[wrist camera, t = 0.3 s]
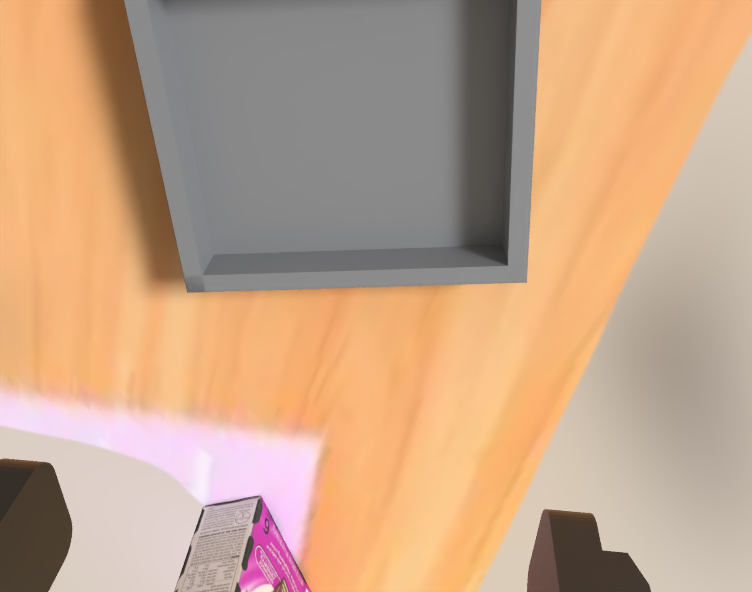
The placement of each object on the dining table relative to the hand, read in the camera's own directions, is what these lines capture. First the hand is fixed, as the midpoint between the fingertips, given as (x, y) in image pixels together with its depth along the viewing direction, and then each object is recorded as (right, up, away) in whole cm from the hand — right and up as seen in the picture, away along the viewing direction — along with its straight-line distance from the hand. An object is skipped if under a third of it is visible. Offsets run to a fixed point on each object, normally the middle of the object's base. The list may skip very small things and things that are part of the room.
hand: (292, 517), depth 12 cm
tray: (0, +13, +25) cm, 28 cm away
